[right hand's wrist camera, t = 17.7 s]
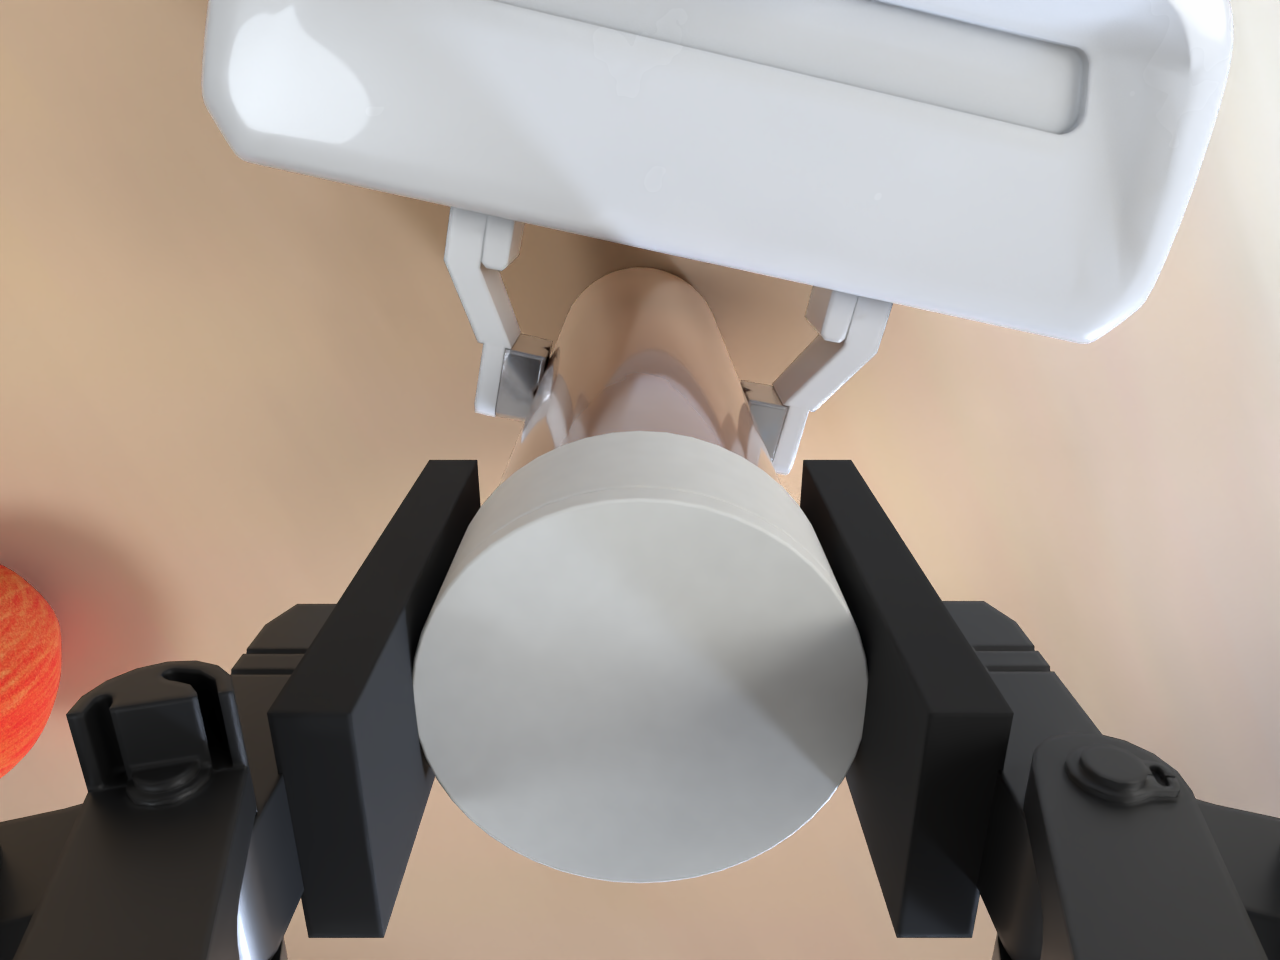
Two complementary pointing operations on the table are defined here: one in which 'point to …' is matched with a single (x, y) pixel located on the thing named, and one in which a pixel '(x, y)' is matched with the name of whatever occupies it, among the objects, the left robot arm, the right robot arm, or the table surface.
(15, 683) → the apple
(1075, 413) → the table surface
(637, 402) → the copper bottle
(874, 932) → the table surface
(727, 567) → the lid
